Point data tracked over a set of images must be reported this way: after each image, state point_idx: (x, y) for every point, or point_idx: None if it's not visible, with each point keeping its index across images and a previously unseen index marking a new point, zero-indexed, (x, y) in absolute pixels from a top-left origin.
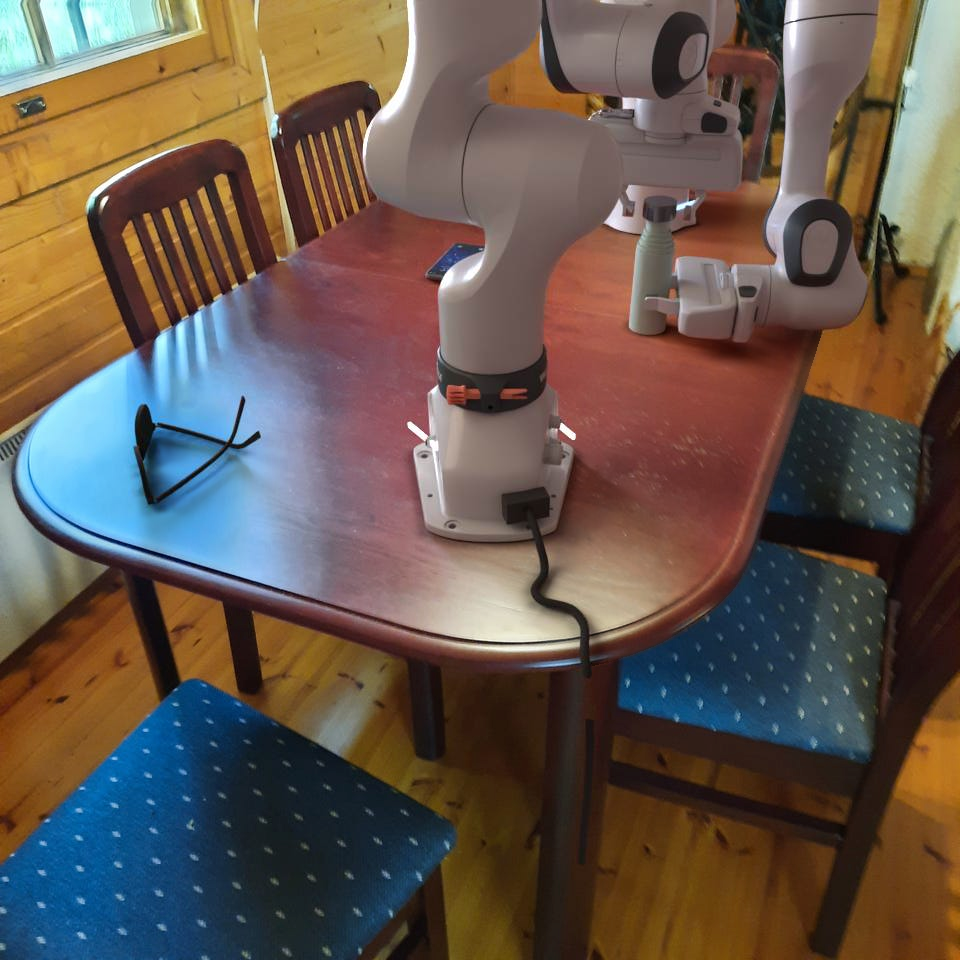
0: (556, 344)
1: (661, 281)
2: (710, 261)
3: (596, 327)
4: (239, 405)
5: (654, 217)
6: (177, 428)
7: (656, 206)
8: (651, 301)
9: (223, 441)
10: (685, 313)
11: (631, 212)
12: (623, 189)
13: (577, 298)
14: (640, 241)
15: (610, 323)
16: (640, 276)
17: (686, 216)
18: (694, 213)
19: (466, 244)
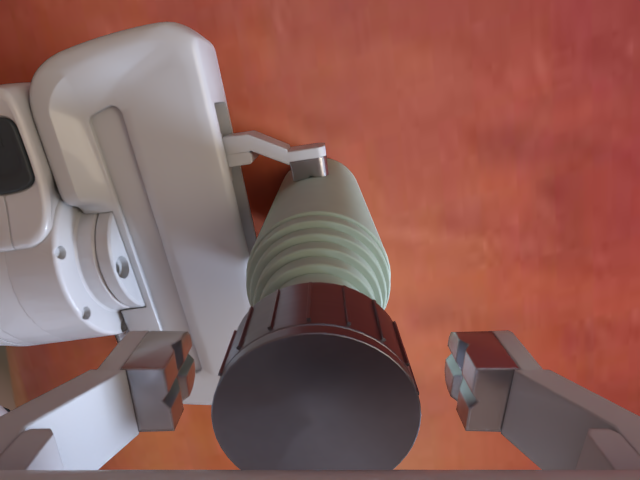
0: (519, 54)
1: (284, 196)
2: None
3: (430, 168)
4: None
5: (333, 295)
6: None
7: (329, 330)
8: (306, 147)
9: None
10: (180, 27)
11: (468, 342)
12: (618, 444)
13: (483, 294)
14: (379, 266)
15: (401, 196)
16: (352, 197)
17: (160, 341)
18: (109, 355)
19: None
